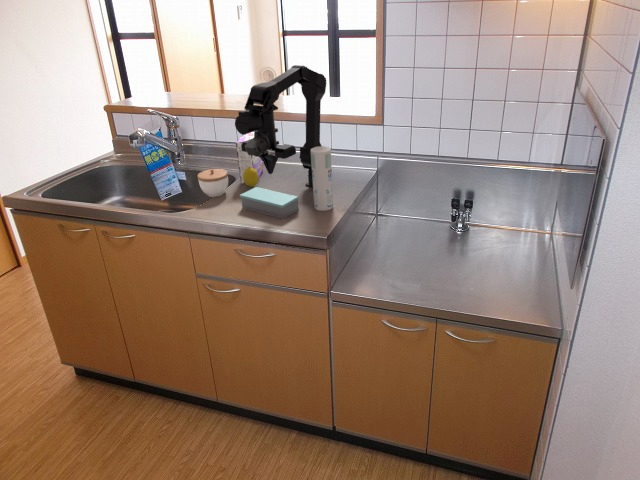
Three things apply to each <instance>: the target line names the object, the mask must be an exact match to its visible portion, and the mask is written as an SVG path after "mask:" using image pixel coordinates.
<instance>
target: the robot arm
mask: <svg viewBox="0 0 640 480" xmlns="http://www.w3.org/2000/svg"><path fill="white" fill-rule="evenodd" d="M296 84H299V85H300V89H301V93H302V95H303V97H304V99H305V103H306V104H305V142H304V144H303V146H300V148H299V159H300V162H301V164H302V167H303V169H306V170H307V173H308V175H307V178H308V179H307V180H308V181H307V183H305V186H307V187H311V188H313V179H312V165H311V149H312V148H314V147H319V146H322V144H321V141H320V140H321V100H322V98H323V97H324V96H325V94H326V89H327V78H326V77H325V75H324V74H322V73H319V72H317V71H314V70H312V69H310V68H309V67H307V66H305V65H299V64H296V65H292V66H291V67H290V68H289V69H287V70H286V71H285V72H282V73H281V74H279V75H278V76H276V77H275V78H273V79H272V80H270V81H265V82H261V83H257V84H254V85H252V86H251V88H250V91H249V94H248V97H247V100H246V103H245V106H244V110H241V111H240V110H239V111H238V116H237V117H235V121H234V127H235V129H236V131H237V132H238V133H239V134H240V135H241V136H242V135H245V134H248V133H251V132H255V133H254V138H253V139H250V140H247V141H244V142H243V143H242V145H241V148H242V151H244V152H247V153H248V155H253V156H256V157H257V156H258V157H259V158H261V159H262V163H263V166H264V167H265V169H266V172H267V173H268V175H272V174H273V173H274V170H275V168H276V164H277V162H278V159H288V158H290V157H292V156H294V155H297V151H296V150H297V148H296V146H294V145H292V144H287V143H286V144H283V145H280V141H279V140H277V135H276V133H278V132H279V129H278V128H277V127H276V124H275V115H274V114H275V113H274V111H277V110H278V109H279V107H278V106H277V105H275V103H276V102H277V101H278V100H279V98H280V95H281V94H282V93H283V92H285V91H286V90H288V89H289V88H291V87H292V86H294V85H296ZM279 145H280V146H279Z"/></svg>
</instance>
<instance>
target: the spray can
mask: <svg viewBox="0 0 640 480" xmlns="http://www.w3.org/2000/svg"><path fill="white" fill-rule="evenodd" d="M311 165H312V179H313V187H312V191H313V192H312V193H313V204H314V205H313V207H314V210H317V211H319V212H320V211H321V212H325V211H329V210H332V209H333V207H334V201H333V197H334V195H333V173H332V170H333V168H332V149H331V147H330V146H324V145H323V146H319V147H314V148H312V149H311Z"/></svg>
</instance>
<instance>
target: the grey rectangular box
mask: <svg viewBox="0 0 640 480" xmlns="http://www.w3.org/2000/svg"><path fill="white" fill-rule="evenodd" d="M240 199H241V208H242V209H245V210H248V211H252V212H256V213H258V214H259V213H260V214H264V215H268V216H272V217H275V218H279V219H282V220H284V219H287V218H288V217H290V216H291V215H293V214H294V213H296V212H298V211H299V198H298V199H297V200H295V201H294V202H292V203H290V204H288V205H287V206H285V207H283V208H281V207H277V206H273V205H269V204H265V203H261V202H257V201H253V200H249V199H245V198H241V197H240Z"/></svg>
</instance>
